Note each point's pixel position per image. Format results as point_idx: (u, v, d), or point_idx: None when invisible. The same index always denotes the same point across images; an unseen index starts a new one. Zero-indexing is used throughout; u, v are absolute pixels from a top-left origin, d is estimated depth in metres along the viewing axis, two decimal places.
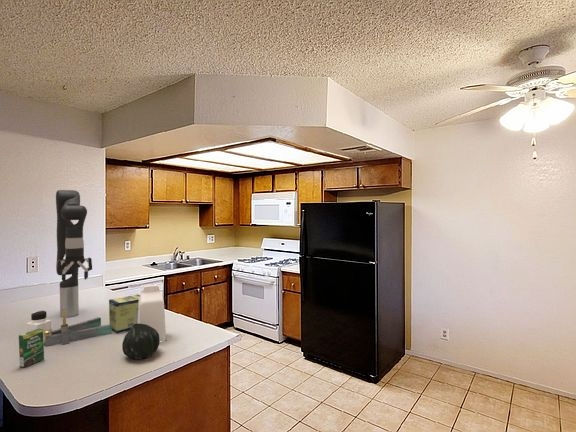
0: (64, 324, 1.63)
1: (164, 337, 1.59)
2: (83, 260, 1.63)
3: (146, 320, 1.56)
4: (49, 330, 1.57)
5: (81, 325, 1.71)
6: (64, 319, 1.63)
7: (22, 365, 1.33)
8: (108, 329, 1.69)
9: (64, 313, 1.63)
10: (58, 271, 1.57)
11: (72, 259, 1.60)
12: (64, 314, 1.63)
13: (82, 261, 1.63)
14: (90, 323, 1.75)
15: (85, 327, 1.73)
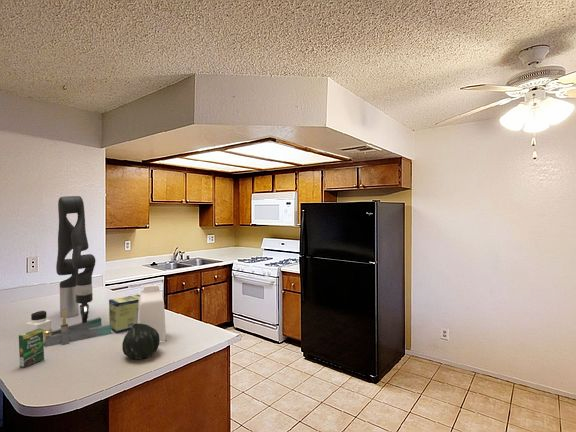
0: (64, 324, 1.63)
1: (164, 337, 1.59)
2: None
3: (146, 320, 1.56)
4: (49, 330, 1.57)
5: (81, 325, 1.71)
6: (64, 319, 1.63)
7: (22, 365, 1.33)
8: (108, 329, 1.69)
9: (64, 313, 1.63)
10: (87, 316, 1.75)
11: None
12: (64, 314, 1.63)
13: None
14: (91, 323, 1.75)
15: (85, 327, 1.73)
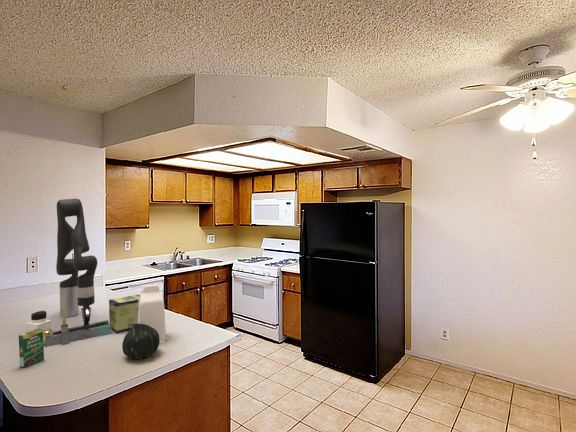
0: (64, 324, 1.63)
1: (164, 337, 1.59)
2: None
3: (146, 320, 1.56)
4: (49, 330, 1.57)
5: (86, 327, 1.68)
6: (64, 319, 1.63)
7: (22, 365, 1.33)
8: (108, 329, 1.69)
9: (64, 313, 1.63)
10: (89, 319, 1.70)
11: None
12: (64, 314, 1.63)
13: None
14: (96, 326, 1.71)
15: None
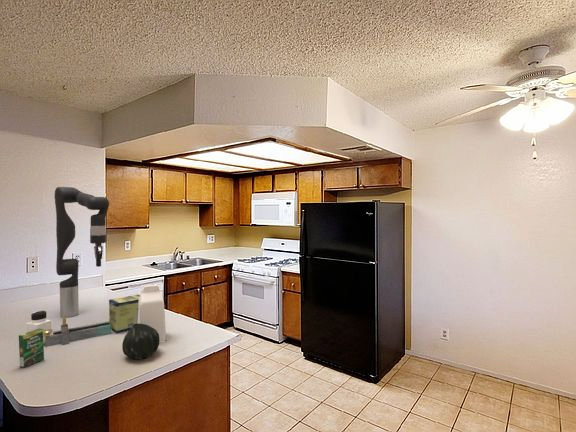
0: None
1: (164, 337, 1.59)
2: None
3: (146, 320, 1.56)
4: (49, 330, 1.57)
5: (87, 328, 1.67)
6: (64, 325, 1.63)
7: (22, 365, 1.33)
8: (108, 329, 1.69)
9: (64, 319, 1.63)
10: (101, 257, 1.78)
11: None
12: (64, 320, 1.63)
13: None
14: None
15: None
